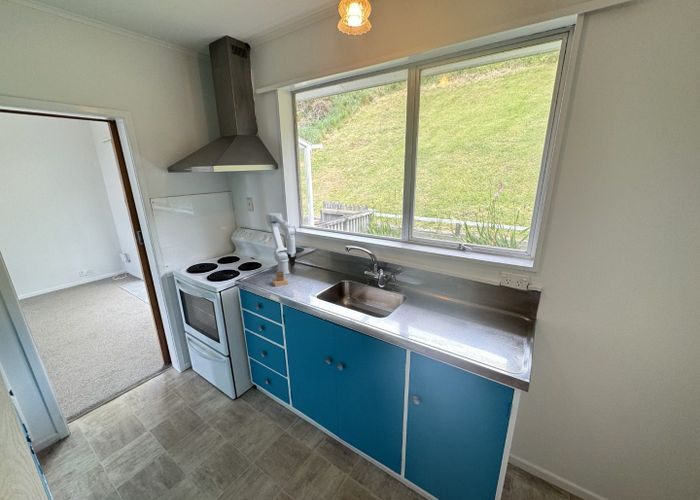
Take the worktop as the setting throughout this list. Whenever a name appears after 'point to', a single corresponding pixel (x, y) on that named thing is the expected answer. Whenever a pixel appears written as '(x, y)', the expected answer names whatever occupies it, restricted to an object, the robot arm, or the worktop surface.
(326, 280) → the worktop surface
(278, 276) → the walnut block
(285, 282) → the peach slab
